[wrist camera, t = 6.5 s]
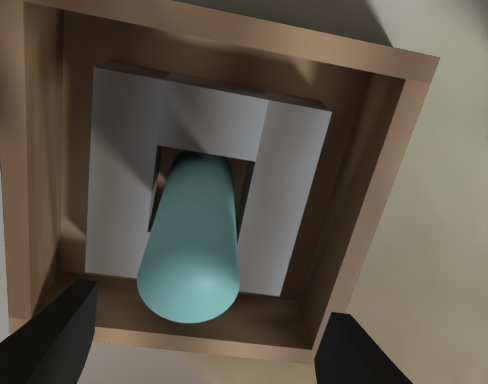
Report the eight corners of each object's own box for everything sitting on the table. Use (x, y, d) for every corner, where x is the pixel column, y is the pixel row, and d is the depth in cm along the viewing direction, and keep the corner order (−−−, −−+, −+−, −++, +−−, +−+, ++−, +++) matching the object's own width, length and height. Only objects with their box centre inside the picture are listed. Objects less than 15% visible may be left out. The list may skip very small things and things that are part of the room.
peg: (235, 149, 20) (245, 243, 12) (228, 205, 22) (233, 325, 13) (171, 142, 20) (137, 235, 12) (168, 200, 21) (136, 320, 13)
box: (393, 47, 19) (440, 57, 15) (308, 308, 26) (324, 365, 21) (45, -27, 17) (-11, -39, 13) (46, 277, 24) (9, 333, 19)
